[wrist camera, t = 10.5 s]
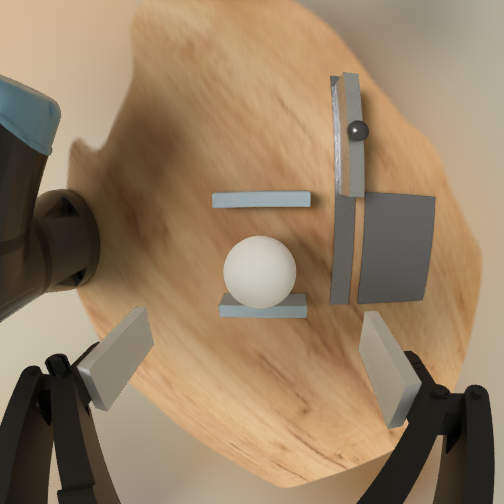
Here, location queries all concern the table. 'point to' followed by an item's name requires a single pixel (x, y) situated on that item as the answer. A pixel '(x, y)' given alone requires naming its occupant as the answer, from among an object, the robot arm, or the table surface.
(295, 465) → the table surface
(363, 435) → the table surface
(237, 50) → the table surface
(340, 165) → the latch bar
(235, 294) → the light bulb
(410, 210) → the mat
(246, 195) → the channel
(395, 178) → the table surface
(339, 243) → the track
